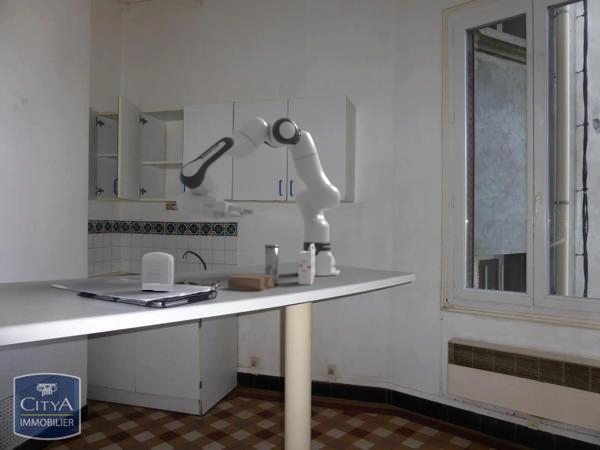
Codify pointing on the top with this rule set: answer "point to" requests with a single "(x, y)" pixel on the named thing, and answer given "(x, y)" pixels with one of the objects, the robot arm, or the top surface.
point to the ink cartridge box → (307, 266)
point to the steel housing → (272, 261)
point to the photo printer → (157, 268)
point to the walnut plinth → (251, 282)
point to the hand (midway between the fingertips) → (247, 211)
